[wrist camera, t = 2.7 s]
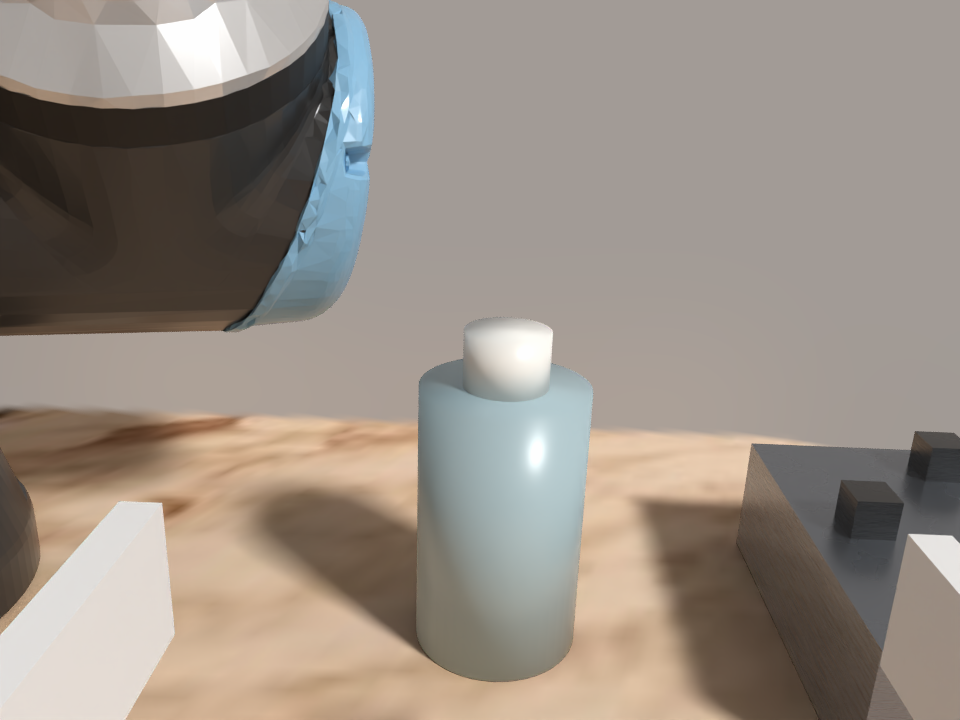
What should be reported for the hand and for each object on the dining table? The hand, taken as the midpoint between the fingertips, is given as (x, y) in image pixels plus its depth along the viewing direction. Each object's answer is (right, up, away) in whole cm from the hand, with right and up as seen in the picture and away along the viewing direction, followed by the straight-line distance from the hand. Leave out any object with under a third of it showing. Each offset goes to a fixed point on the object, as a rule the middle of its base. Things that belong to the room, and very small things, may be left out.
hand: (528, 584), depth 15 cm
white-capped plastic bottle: (0, -6, +18) cm, 19 cm away
